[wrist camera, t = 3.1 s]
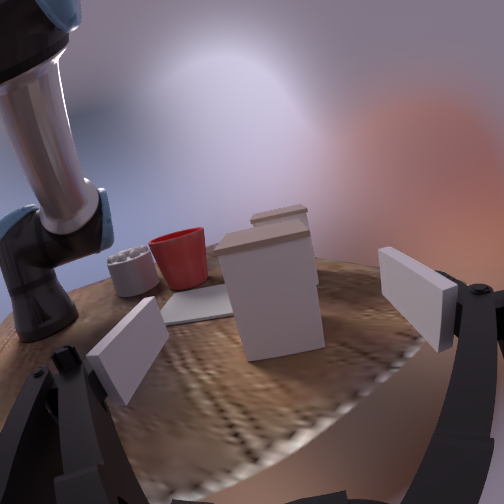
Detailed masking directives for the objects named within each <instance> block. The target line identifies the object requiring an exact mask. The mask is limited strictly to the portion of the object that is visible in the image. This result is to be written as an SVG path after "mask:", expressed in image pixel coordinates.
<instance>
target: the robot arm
mask: <svg viewBox="0 0 504 504" xmlns="http://www.w3.org/2000/svg"><path fill="white" fill-rule="evenodd" d="M80 23H81V4H80V0H0V119H1V122H2V125H3V127H4V130H5V133H6V135H7V137H8V140H9V142H10V145H11V147H12V149H13V151H14V154H15V156H16V158H17V160H18V162H19V165H20V167H21V168H22V171H23V173H24V175H25V177H26V179H27V181H28V183H29V184H30V186H31V188H32V190H33V192H34V194H35V196H36V198H37V199H38V201H39V203H40V205H41V206H40V210H39V208H38V206H37V205H35V204H34V205H33V204H32V205H27V206H25V207H23V208H21V209H17V210H15V211H14V212H12V213H10V214H8V215H7V216H5V217H4V218H3V219H1V220H0V267H1V271H2V274H3V277H4V280H5V283H6V286H7V289H8V292H9V294H10V297H11V301H12V307H13V315H14V322H15V328H16V332H17V334H18V336H19V338H20V340H21V341H22V342H31V341H36V340H39V339H42V338H45V337H47V336H50V335H52V334H54V333H56V332H58V331H59V330H61V329H63V328H64V327H66V326H67V325H69V324H70V323H71V322H73V321H74V320H75V319H76V317H77V316H78V311H77V309H76V306H75V304H74V302H73V301H72V300H70V298H69V296H68V295H67V293H66V292H65V290H64V289H63V287H62V286H61V285H60V283H59V282H58V279H57V277H56V274H55V271H54V268H55V267H58V266H60V265H63V264H66V263H69V262H71V261H74V260H77V259H80V258H83V257H85V256H89V255H91V254H95V253H100V252H101V251H103V250H105V249H108V248H110V247H111V246H112V245H113V243H114V232H113V226H112V221H111V213H110V208H109V202H108V197H107V193H106V190H105V189H103V188H95V185H94V184H93V183H92V182H91V181H89V180H87V179H85V178H84V176H83V173H82V169H81V166H80V163H79V160H78V156H77V153H76V149H75V145H74V141H73V138H72V133H71V130H70V125H69V121H68V116H67V112H66V107H65V102H64V97H63V91H62V86H61V80H60V73H59V66H58V58H59V57H60V55H61V54H62V53H63V51H64V50H65V49H66V48H67V46H68V44H69V32H71V31H73V30H74V29H75V28H77V27H79V25H80ZM378 253H379V263H380V273H381V286H382V294H383V295H384V296H385V297H386V299H387V300H388V301H389V302H390V303H391V304H392V305H393V306H394V307H395V308H396V309H397V310H398V311H399V312H400V313H401V314H402V315H403V316H404V317H405V318H406V319H407V320H408V321H409V322H410V323H411V325H412V326H413V327H414V328H415V329H416V330H417V331H418V332H419V333H420V334H421V335H422V336H423V337H424V339H425V340H426V341H427V342H428V343H429V344H430V345H431V346H432V347H433V348H434V350H435V351H436V352H437V353H439V352H442V351H444V350H447V349H449V348H451V347H452V345H453V338H454V334H455V335H456V336H457V337H458V338H459V339H458V346H457V351H456V356H455V361H454V366H453V370H452V375H451V379H450V383H449V387H448V390H447V394H446V398H445V401H444V404H443V408H442V411H441V414H440V417H439V420H438V423H437V426H436V429H435V431H434V433H433V436H432V439H431V441H430V444H429V446H428V449H427V451H426V453H425V456H424V458H423V460H422V462H421V465H420V467H419V469H418V471H417V473H416V475H415V477H414V479H413V481H412V483H411V485H410V488H409V489H408V491H407V493H406V495H405V496H404V498H403V500H402V502H401V503H400V504H478V503H479V500H480V497H481V494H482V491H483V488H484V485H485V481H486V478H487V474H488V470H489V467H490V463H491V458H492V454H493V449H494V438H490V432H491V426H492V420H493V413H494V405H495V395H496V382H497V341H498V343H499V346H500V349H501V352H502V355H503V358H504V290H502V291H497V292H493V289H492V288H491V287H490V286H488V285H485V284H472V285H469V286H467V285H465V284H464V283H462V282H460V281H459V280H457V279H455V278H453V277H451V276H450V275H448V274H446V273H445V272H441V271H436V270H435V271H434V270H432V269H430V268H428V267H427V266H425V265H423V264H421V263H420V262H418V261H416V260H414V259H412V258H411V257H409V256H407V255H405V254H403V253H401V252H399V251H398V250H396V249H394V248H392V247H390V246H389V247H385V248H381V249H378ZM168 338H169V333H168V331H167V328H166V326H165V323H164V320H163V318H162V315H161V312H160V309H159V307H158V304H157V301H156V298H155V296H153V297H148V298H144V299H143V300H142V301H141V302H140V303H139V304H137V305H136V306H135V307H134V308H133V309H132V310H131V311H130V312H129V313H128V314H127V315H126V316H125V317H124V318H123V319H122V320H121V321H120V322H119V323H118V324H117V325H116V326H115V327H114V328H113V329H112V330H111V331H110V332H109V333H108V334H107V335H106V336H105V337H104V338H103V339H102V340H101V341H100V342H99V343H98V344H97V345H96V346H95V347H94V348H93V349H92V350H91V351H90V352H89V353H88V354H87V355H86V358H85V359H84V360H83V361H81V359H80V357H79V355H78V353H77V351H76V349H75V347H74V345H71V344H70V345H65V346H62V347H60V348H58V349H56V350H55V351H54V352H53V353H52V354H51V358H52V360H53V362H54V364H55V366H56V367H57V369H58V371H59V374H58V375H52V374H51V372H50V370H49V368H48V367H41V368H37V369H35V370H34V371H33V372H32V373H31V374H30V375H29V377H28V379H27V380H26V382H25V384H24V386H23V388H22V390H21V392H20V393H19V395H18V397H17V399H16V401H15V403H14V405H13V407H12V409H11V411H10V414H9V416H8V418H7V420H6V422H5V424H4V427H3V429H2V431H1V433H0V504H149V502H148V500H147V498H146V496H145V495H144V493H143V491H142V489H141V487H140V485H139V483H138V481H137V479H136V477H135V475H134V472H133V470H132V468H131V466H130V464H129V461H128V459H127V457H126V454H125V452H124V450H123V447H122V445H121V442H120V439H119V437H118V434H117V432H116V429H115V426H114V423H113V420H112V417H111V414H110V411H109V408H108V406H107V404H106V403H105V401H104V400H105V398H106V397H107V395H108V397H109V399H110V400H111V402H112V403H113V405H119V406H127V404H128V403H129V401H130V399H131V398H132V396H133V394H134V393H135V391H136V389H137V388H138V386H139V385H140V383H141V381H142V380H143V378H144V376H145V375H146V373H147V372H148V370H149V368H150V367H151V365H152V363H153V362H154V360H155V359H156V357H157V355H158V354H159V352H160V351H161V349H162V347H163V346H164V344H165V343H166V341H167V340H168ZM47 409H48V410H47ZM48 411H49V412H50V413H49V412H48ZM171 504H213V503H207V502H194V501H183V500H175V499H172V502H171ZM286 504H387V503H384V502H379V501H374V500H365V499H347V495H346V490H345V491H340V492H336V493H331V494H327V495H321V496H315V497H309V498H302V499H298V500H296V501H292V502H289V503H286Z"/></svg>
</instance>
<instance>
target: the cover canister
mask: <svg viewBox="0 0 504 504" xmlns="http://www.w3.org/2000/svg"><path fill="white" fill-rule="evenodd" d="M308 237H311V235H310V230H309V229H308V228H307V227H306V226H305V225H304V224H303V223H302V222H301V220H300V219H299V218H297V219H293V220H288V221H283V222H279V223H274V224H269V225H265V226H260V227H255V228H251V229H247V230H242V231H237V232H233V233H228V234H226V235H225V237H224V238H223V239H222V240H221V241H220V243H219V244H218V245H217V246H216V248H215V249H214V250H213V253H214V256H215V257H217V256H218V259H219V263H220V267H221V270H222V274H223V278H224V282H225V285H226V289H227V292H228V296H229V300H230V303H231V307H232V310H233V314H234V317H235V321H236V324H237V328H238V331H239V335H240V338H241V341H242V345H243V348H244V352H245V355H246V358H247V361H248V362H249V361H256V360H262V359H268V358H274V357H280V356H285V355H290V354H296V353H301V352H306V351H310V350H315V349H320V348H324V347H325V341H324V334H323V326H322V319H321V312H320V306H319V299H318V293H317V286H316V280H315V274H314V268H313V263H312V257H311V251H310V246H309V241H308Z"/></svg>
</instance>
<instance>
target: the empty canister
mask: <svg viewBox="0 0 504 504" xmlns="http://www.w3.org/2000/svg"><path fill="white" fill-rule="evenodd" d="M306 212H308V211H307V208H306V207H304V206H302V205H301V204H299V205H294V206H290V207H285V208H280V209H275V210H271V211H266V212H262V213H257V214H253V215H252V218H251V220H250V221H251V224H253V227H254V228H255V227H260V226H265V225H269V224H274V223H279V222H283V221H288V220H293V219H297V218H299V219H300V220H301V222H302V223H303V224H304V225H305V226H306V227H307V228H308V229H309V225H308V220H307V215H306ZM308 241H309V246H310V251H311V257H312V263H313V268H314V274H315V280H316V285H319V281H318V275H317V269H316V263H315V257H314V252H313V246H312V240H311V237H308Z"/></svg>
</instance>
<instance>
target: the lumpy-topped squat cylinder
mask: <svg viewBox="0 0 504 504" xmlns="http://www.w3.org/2000/svg"><path fill="white" fill-rule="evenodd" d="M107 262H108V263H107V266H108V269H109V272H110V275H111V278H112V281H113V284H114V287H115V290H116V292H117V295H118V296H119V297H131V296H136V295H139V294H142V293H145V292H147V291H149V290H150V289H152V288H154V287H155V286H156V285H157V284H158V283H159V282H160V281H159V278H158V275H157V271H156V268H155V265H154V262H153V258H152V255H151V252H150V250H149V249H148V248H147V246H145V245H141V246H140V247H139V248H136V247H133V248H129V249H127V250H124V251H120V252H118V253H117V254H116V255H115V256H114V255H111V256H109V257H108V259H107Z"/></svg>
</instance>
